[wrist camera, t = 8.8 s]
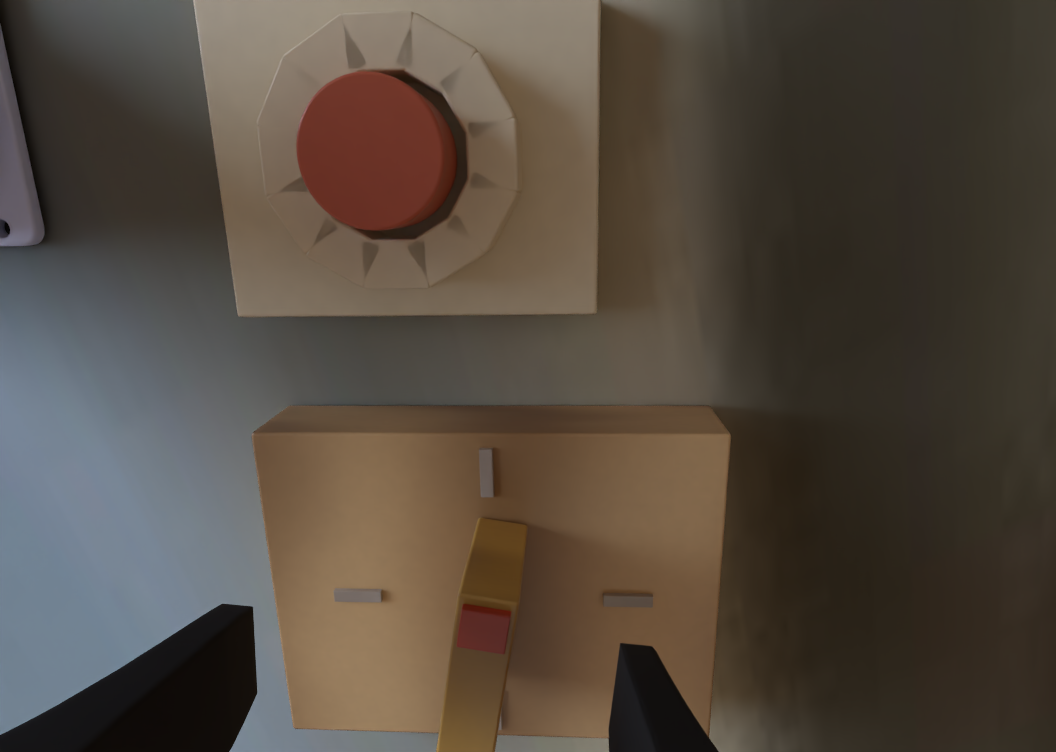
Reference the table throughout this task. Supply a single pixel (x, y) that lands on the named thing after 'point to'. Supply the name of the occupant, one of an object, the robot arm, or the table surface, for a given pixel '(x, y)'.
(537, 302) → the bell block
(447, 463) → the plate
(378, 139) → the bell button
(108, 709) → the robot arm
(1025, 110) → the table surface
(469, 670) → the thumb turn
